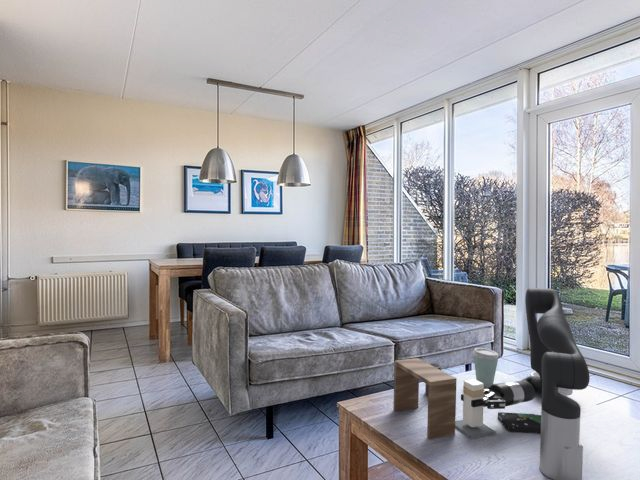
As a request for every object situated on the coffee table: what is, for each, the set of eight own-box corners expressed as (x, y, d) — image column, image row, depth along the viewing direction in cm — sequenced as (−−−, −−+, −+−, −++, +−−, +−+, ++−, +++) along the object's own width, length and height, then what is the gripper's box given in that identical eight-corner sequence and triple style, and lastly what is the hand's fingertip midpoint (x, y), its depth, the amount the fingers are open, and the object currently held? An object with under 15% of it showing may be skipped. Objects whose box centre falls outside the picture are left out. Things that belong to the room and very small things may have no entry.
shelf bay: (455, 434, 133) (456, 378, 132) (429, 439, 129) (430, 382, 129) (416, 406, 153) (417, 358, 153) (393, 410, 150) (394, 360, 149)
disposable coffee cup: (493, 380, 181) (494, 347, 180) (501, 390, 170) (502, 354, 170) (469, 379, 182) (470, 346, 182) (475, 388, 171) (476, 353, 171)
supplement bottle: (421, 392, 167) (422, 363, 166) (436, 390, 169) (437, 362, 168) (431, 399, 160) (432, 369, 160) (446, 397, 162) (446, 367, 162)
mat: (495, 433, 133) (495, 431, 133) (471, 438, 130) (471, 436, 130) (473, 419, 143) (474, 417, 143) (450, 424, 139) (450, 422, 139)
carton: (483, 425, 135) (484, 383, 135) (472, 427, 133) (473, 385, 133) (473, 419, 139) (474, 378, 139) (462, 421, 138) (463, 380, 137)
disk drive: (508, 434, 134) (554, 436, 133) (508, 425, 134) (555, 427, 133) (497, 419, 145) (540, 421, 144) (497, 411, 145) (540, 413, 144)
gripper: (491, 376, 148) (452, 382, 142) (523, 391, 134) (482, 398, 128) (490, 396, 148) (452, 403, 142) (522, 413, 135) (481, 421, 129)
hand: (466, 400), depth 135 cm, fingers closed on carton, 4 cm apart
